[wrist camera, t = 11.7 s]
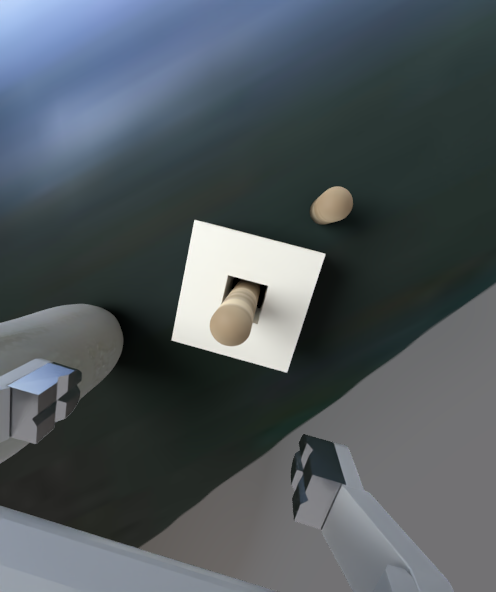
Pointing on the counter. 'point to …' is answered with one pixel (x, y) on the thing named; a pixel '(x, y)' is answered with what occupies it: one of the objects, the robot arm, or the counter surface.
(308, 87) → the counter surface
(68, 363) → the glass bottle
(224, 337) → the long pin
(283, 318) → the hole block
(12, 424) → the robot arm
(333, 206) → the short pin
